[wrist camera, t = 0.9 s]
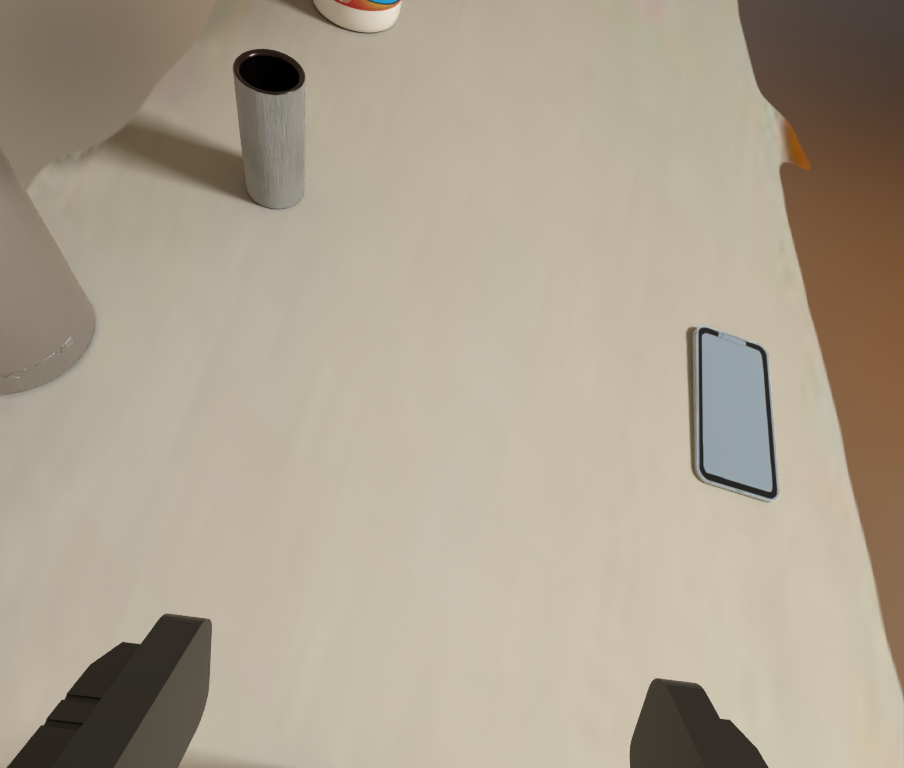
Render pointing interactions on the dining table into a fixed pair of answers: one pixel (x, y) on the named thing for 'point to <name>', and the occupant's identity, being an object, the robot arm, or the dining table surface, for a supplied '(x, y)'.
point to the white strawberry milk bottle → (360, 13)
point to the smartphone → (733, 415)
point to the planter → (271, 126)
